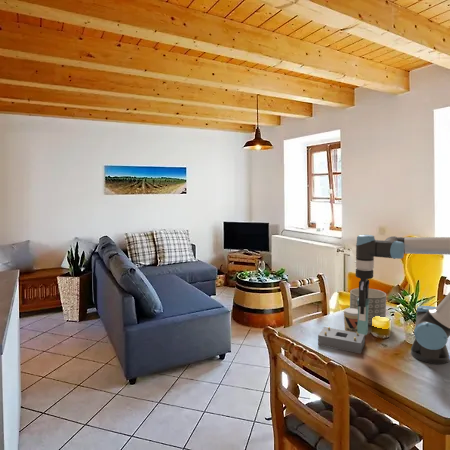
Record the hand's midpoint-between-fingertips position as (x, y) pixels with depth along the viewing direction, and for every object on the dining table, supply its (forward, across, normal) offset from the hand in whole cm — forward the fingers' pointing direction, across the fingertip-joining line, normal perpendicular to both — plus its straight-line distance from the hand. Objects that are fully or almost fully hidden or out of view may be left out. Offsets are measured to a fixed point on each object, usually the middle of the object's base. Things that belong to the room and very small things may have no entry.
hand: (363, 318), depth 163 cm
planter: (+18, -42, -4) cm, 46 cm away
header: (+17, -7, -11) cm, 22 cm away
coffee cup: (+18, -25, -9) cm, 32 cm away
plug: (+7, 0, 0) cm, 7 cm away
